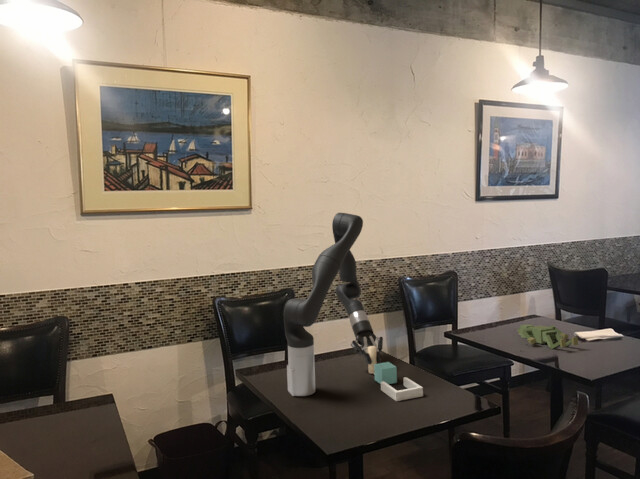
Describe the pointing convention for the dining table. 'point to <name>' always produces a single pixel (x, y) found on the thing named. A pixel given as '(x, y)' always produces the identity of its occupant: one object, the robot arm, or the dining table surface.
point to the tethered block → (381, 368)
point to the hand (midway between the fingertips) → (374, 362)
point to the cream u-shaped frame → (411, 392)
